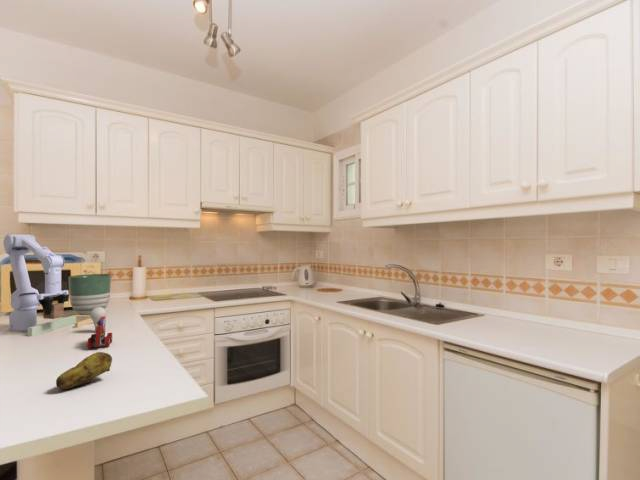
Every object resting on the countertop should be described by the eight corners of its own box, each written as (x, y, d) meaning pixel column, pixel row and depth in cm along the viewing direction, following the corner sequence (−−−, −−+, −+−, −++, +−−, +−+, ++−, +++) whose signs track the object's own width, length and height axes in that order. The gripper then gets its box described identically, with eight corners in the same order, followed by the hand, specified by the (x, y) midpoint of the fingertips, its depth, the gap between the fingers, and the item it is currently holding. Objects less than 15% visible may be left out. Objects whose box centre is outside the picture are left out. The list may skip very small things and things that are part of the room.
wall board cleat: (27, 336, 145) (27, 327, 145) (74, 322, 171) (74, 315, 171) (50, 336, 145) (50, 328, 145) (94, 322, 170) (94, 315, 170)
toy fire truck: (85, 351, 124) (85, 323, 124) (93, 342, 136) (93, 316, 136) (108, 349, 127) (108, 321, 127) (113, 340, 139) (113, 314, 139)
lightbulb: (98, 334, 148) (98, 308, 148) (86, 333, 149) (86, 308, 149) (109, 330, 154) (109, 306, 154) (98, 330, 155) (98, 305, 155)
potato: (58, 384, 96) (58, 355, 96) (111, 374, 103) (111, 347, 103) (54, 395, 89) (55, 364, 89) (112, 383, 96) (112, 355, 96)
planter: (84, 319, 176) (84, 278, 176) (60, 316, 183) (60, 276, 183) (119, 312, 194) (119, 274, 194) (95, 310, 201) (95, 273, 201)
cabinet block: (43, 318, 150) (43, 302, 150) (53, 316, 155) (53, 300, 155) (53, 318, 149) (54, 302, 149) (63, 316, 154) (63, 300, 154)
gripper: (47, 284, 144) (47, 316, 144) (74, 280, 159) (74, 310, 159) (32, 284, 145) (31, 316, 145) (60, 280, 159) (60, 309, 159)
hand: (53, 313), depth 152 cm, fingers closed on cabinet block, 5 cm apart
